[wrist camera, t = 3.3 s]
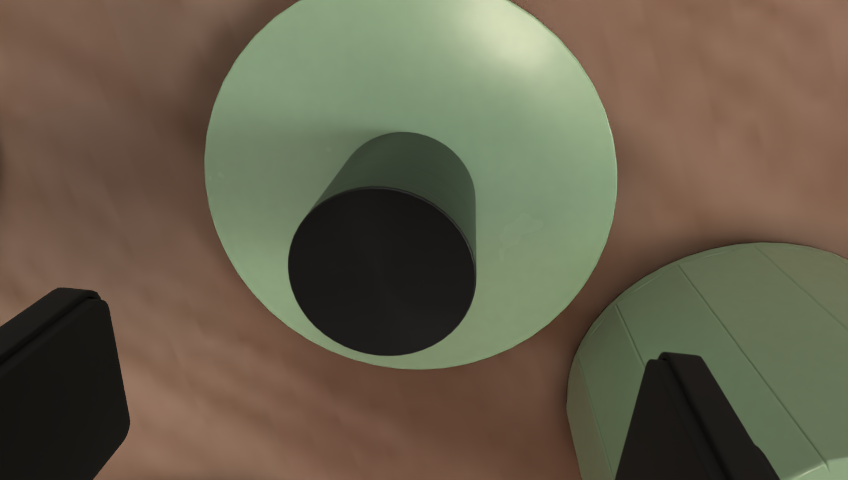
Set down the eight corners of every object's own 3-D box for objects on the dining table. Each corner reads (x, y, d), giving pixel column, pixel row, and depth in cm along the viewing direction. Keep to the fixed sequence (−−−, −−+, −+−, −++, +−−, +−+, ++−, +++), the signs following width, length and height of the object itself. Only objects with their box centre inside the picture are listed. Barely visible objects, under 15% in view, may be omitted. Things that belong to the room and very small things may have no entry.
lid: (232, 335, 23) (144, 459, 17) (199, -42, 17) (51, -59, 11) (572, 369, 22) (609, 511, 16) (652, -10, 17) (754, -10, 11)
